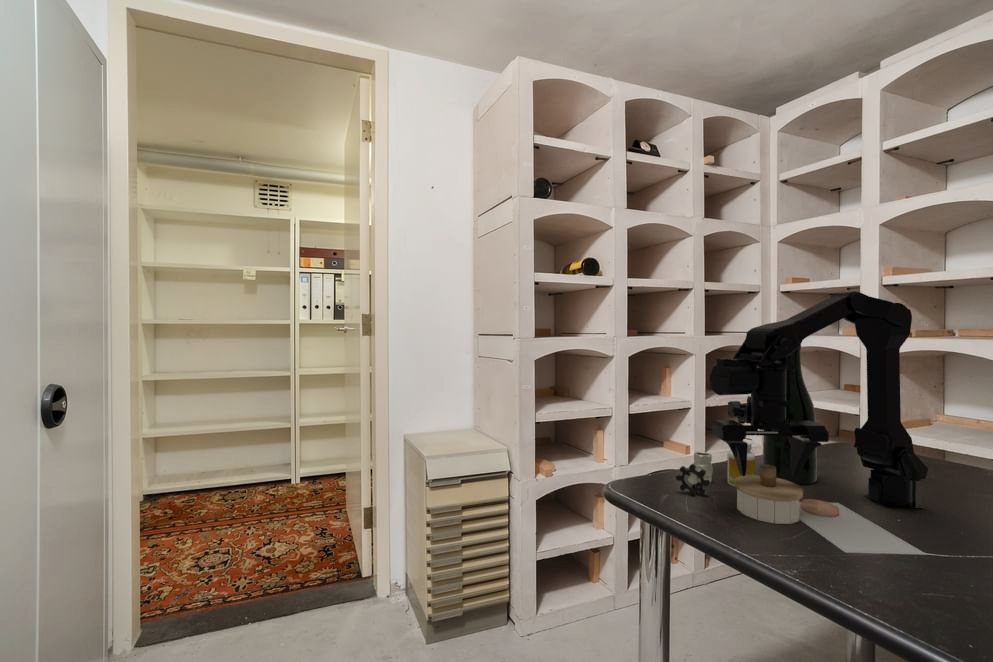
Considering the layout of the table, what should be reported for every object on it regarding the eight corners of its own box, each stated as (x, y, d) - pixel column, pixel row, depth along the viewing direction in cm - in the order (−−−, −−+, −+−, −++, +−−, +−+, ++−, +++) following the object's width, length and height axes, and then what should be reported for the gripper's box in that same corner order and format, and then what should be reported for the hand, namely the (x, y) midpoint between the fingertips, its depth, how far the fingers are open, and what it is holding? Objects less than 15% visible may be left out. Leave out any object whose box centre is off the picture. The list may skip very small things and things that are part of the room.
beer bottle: (828, 485, 100) (829, 336, 100) (786, 488, 99) (787, 336, 98) (791, 470, 111) (791, 335, 110) (752, 472, 109) (752, 335, 108)
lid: (817, 502, 80) (817, 476, 80) (752, 501, 80) (752, 475, 80) (781, 480, 91) (781, 458, 91) (725, 479, 91) (725, 457, 91)
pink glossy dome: (826, 504, 89) (826, 499, 89) (846, 517, 83) (847, 512, 83) (793, 503, 89) (793, 498, 89) (812, 516, 83) (812, 511, 83)
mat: (838, 504, 90) (838, 502, 90) (927, 557, 70) (927, 554, 70) (775, 503, 90) (775, 501, 90) (845, 554, 70) (845, 552, 70)
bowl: (780, 503, 90) (780, 481, 90) (811, 526, 80) (811, 501, 80) (728, 502, 91) (728, 480, 91) (753, 524, 81) (753, 499, 81)
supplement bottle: (758, 490, 97) (759, 445, 97) (731, 489, 98) (731, 444, 98) (750, 482, 103) (750, 439, 102) (724, 480, 104) (724, 438, 104)
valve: (689, 477, 106) (675, 493, 97) (689, 449, 106) (675, 462, 97) (720, 483, 103) (709, 500, 93) (720, 454, 102) (709, 468, 93)
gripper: (794, 387, 93) (794, 463, 93) (700, 387, 94) (700, 462, 94) (831, 396, 82) (830, 482, 82) (724, 396, 83) (724, 480, 83)
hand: (767, 475), depth 86 cm, fingers open, 9 cm apart
